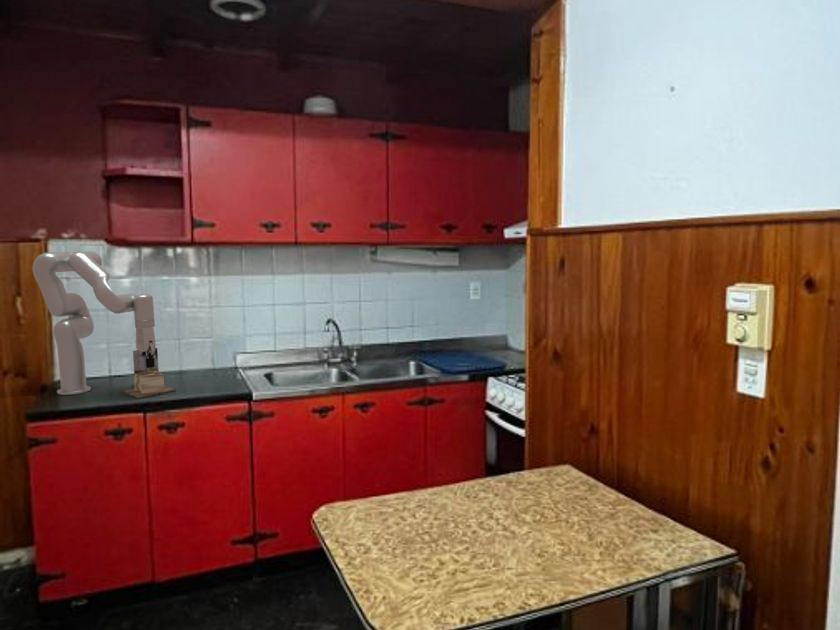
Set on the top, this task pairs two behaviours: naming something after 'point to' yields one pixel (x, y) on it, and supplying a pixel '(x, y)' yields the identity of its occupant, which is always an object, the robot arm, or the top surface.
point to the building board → (139, 395)
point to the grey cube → (143, 361)
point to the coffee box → (137, 365)
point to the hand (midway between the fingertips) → (148, 366)
